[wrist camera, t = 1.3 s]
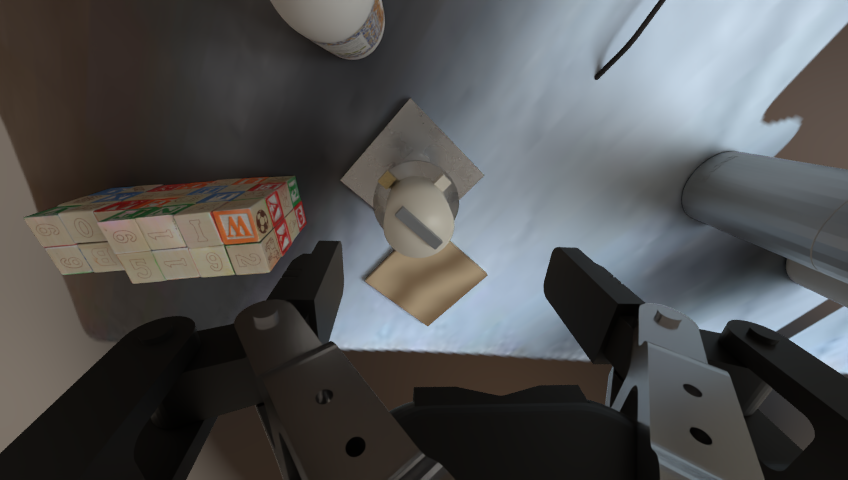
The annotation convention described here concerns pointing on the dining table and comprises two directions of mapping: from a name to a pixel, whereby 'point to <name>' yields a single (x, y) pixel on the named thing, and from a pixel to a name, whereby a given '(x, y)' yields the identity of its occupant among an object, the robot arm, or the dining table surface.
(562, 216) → the dining table surface
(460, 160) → the knob on square base
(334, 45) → the bath foam
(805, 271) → the cylinder vase
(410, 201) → the cap
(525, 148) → the dining table surface
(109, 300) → the dining table surface
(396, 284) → the coaster
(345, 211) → the dining table surface
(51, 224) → the stack of blocks
